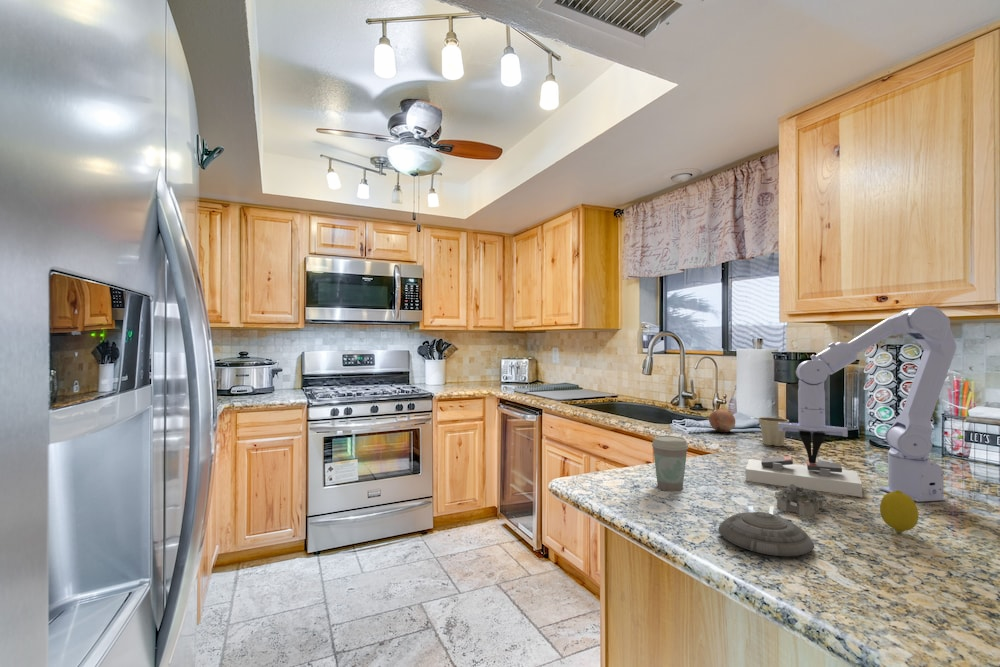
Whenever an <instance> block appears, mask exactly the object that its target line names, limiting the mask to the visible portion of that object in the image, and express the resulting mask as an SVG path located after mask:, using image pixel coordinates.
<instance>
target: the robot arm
mask: <svg viewBox="0 0 1000 667" xmlns="http://www.w3.org/2000/svg"><path fill="white" fill-rule="evenodd" d="M902 334H903V335H904V334H905V335H906V334H907V335H909V336H910V337H912V338H914V340H915V341H916V342H917V343H918V344H919V345H920V347H922V349H923V352H922V356H921V358H920V361H919V363H918V366H917V369H916V373H915V375H914V378H913V381H912V383H911V386H910V389H909V391H908V395H907V398H906V400H905V404H904V405H903V408H902V411H901V413H900V414H899V415H897V417H896V418H895V420H894V423H893V424H892V425H891V426H890V427H889V428H887V429H886V432H885V433H884V434H885V435H884V437H885V441H886V443H887V444H888V446H889V447H890V449H889V450H888V451H887V460H888V461H887V464H888V466H887V468H888V469H887V470H888V471H887V472H888V474H887V475H888V477H887V478H888V482H887V483H888V485H887V486H878V489H879V490H881V491H884V492H887V493H890V492H895V491H896V490H899V491H901V492H902V493H904V494H906V495H908V496H909V497H910V498H912V499H913V501H914V502H919V503H920V502H936V501H947V500H948V499H947V497H946V496H945V497H944V495H945V493H944V491H945V490H944V471H943V469H942V467H941V466H940V465H939V464H938V463H937V462H933V461H931V460H930V459H929V454H930V453H931V452H932V449H933V442H932V434H933V427H932V423H931V419H932V417H933V414H934V411H935V408H936V405H937V403H938V399H939V397H940V395H941V392H942V390H943V387H944V384H945V382H946V378H947V376H948V375H947V374H948V372H949V369H950V366H951V364H952V362H953V358H954V356H955V354H956V350H957V342H956V339H955V337H954V334H953V332H952V328H951V318H949V317H948V316H947V315H946V314H945V313H944V312H943V311H942V310H941V309H939V308H938V307H936V306H933V305H922V306H919V307H910V308H906V309H904V310H902V311H901V312H900V313H896V314H893V315H891V316H890V317H888V318H886V319H884V320H882V321H880V322H878V323H876V324H875V325H874V326H871V327H870V328H869V329H867V330H866V331H865V332H862V333H861V334H859V335H858V336H856V337H855V338H853V339H851V340H850V341H849V342H845V341H838V342H836V343H835V342H831V343H829V344H827V348H826V349H824V350H822V351H821V352H819V353H818V354H817V353H816V355H815V354H812V355H810V356H809V358H811V360H804V361H802V362H800V363H799V364H798V366H797V368H796V370H795V375H796V377H797V378H798V389H797V402H798V404H797V405H798V406H797V408H798V409H797V412H798V413H797V414H798V415H797V416H798V417H797V418H798V422H788V423H780V422H779V423H778V431H786V432H792V433H799V434H798V435H799V437H800V440H801V441H802V443H803V445H804V448H805V450H806V454H807V458H808V461H809V463H816V462H817V460H816V459H817V458H818V453H819V450H820V448H821V446H822V445H823V443H824V441H825V438H826V436H825V435H829V436H839V437H845V438H847V437H848V436H849V435H848V434H849V433H848V432H849V431H848V428H847V427H843V426H842V427H841V426H834V425H833V426H832V425H828V424H827V425H826V391H825V382H826V380H827V378H828V377H829V375H831V376H832V375H833V374H835V373H837V372H839V371H840V370H842V369H843V368H845V367H847V366H849V365H850V364H852V363H855V362H856V361H857V357H858V355H859V353H860V352H862V351H864V350H866V349H868V348H871V347H872V346H874V345H875V344H877V343H879V342H881V341H883V340H885V339H887V338H888V337H890V336H893V335H895V336H896V335H902Z"/></svg>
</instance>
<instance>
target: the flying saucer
mask: <svg viewBox="0 0 1000 667" xmlns="http://www.w3.org/2000/svg"><path fill="white" fill-rule="evenodd" d="M717 530H718V532H719V534H720V535H721V536H722V537H723V538H724V539H725V540H726V541H728V542H729V543H732V544H734V545H736V546H738V547H740V548H742V549H744V550H747V551H751V552H754V553H758V554H763V555H770V556H776V557H796V556H802V555H806V554H808V553H811V552H812V551H813V550H814V549H815V544H814V542H813V539H812V538H811V537H810V536H809V534H807V532H806V531H805V530H803V529H802V528H801V527H800V526H798V525H797V524H795V523H793V522H792V521H790V520H788V519H786V518H783V517H781V516H777V515H775V514H772V513H769V512H764V511H752V512H751V511H749V512H740V513H736V514H733V515H731V516H729V517H727V518H726V519H724V520H723V521H722V522H721V523H720V525H719V526H718V529H717Z"/></svg>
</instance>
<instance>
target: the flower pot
mask: <svg viewBox="0 0 1000 667" xmlns="http://www.w3.org/2000/svg"><path fill="white" fill-rule="evenodd" d="M757 421H758V423H759V426H760V430H761V431H760V432H761V439H762V442H763V443H762V444H764V445H767V446H776V447H782V446H784V444H785V437H786V432H787V431H778V423H779V422H780V423H790V420H789V419H787V418H786V419H785V418H781V417H780V418H779V417H769V416H768V417H767V416H763V417H757Z"/></svg>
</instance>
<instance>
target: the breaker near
mask: <svg viewBox="0 0 1000 667" xmlns="http://www.w3.org/2000/svg"><path fill="white" fill-rule="evenodd" d="M806 466H807V469H808V470H816V471H820V468H824V469H830V472H842V468H843V467H842V466H841V463H835V462H834V463H824V462H818V461H816V463H809V460H808V461H806Z"/></svg>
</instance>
